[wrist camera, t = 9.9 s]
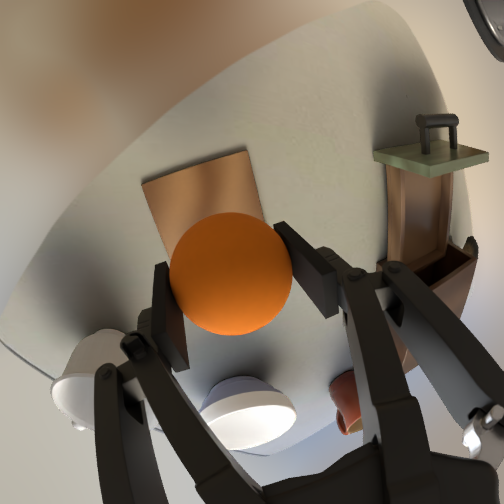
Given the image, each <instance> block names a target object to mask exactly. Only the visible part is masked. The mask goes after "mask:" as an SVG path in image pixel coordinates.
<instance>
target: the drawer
mask: <svg viewBox="0 0 504 504" xmlns="http://www.w3.org/2000/svg"><path fill="white" fill-rule="evenodd" d="M416 124H417V126H418V127H419V128H420V139H421V143H415V144H409V145H403V146H397V147H392V148H386V149H381V150H376V151H373V154H374V161H377V162H380V163H384V164H386V173H387V191H388V254H387V261H400V262H402V263H404V264H405V265H406V266H407V267H408V268H409V269H410V270H411V271H412V272H414V273H415V274H416V273H417V272H419V271H421V270H423V269H425V268H426V267H428V266H430V265H432V264H433V263H435V262H437V261H438V260H440V259H442V258H443V257H445V256H446V252H447V245H448V238H449V230H450V221H451V210H452V195H453V171H457V170H460V169H464V168H467V167H471V166H474V165H478V164H481V163H485V162H488V161H489V153H488V152H486V151H482V150H479V149H475V148H472V147H468V146H464V145H460V144H457V129H456V126H457V125H458V124H459V119H458V117H457V116H456V115H455V114H419V115H417V116H416ZM441 127H449V140H450V142H448V141H444V140H435V141H430V137H429V128H441Z"/></svg>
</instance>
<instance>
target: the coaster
mask: <svg viewBox="0 0 504 504" xmlns="http://www.w3.org/2000/svg"><path fill="white" fill-rule="evenodd" d="M141 186H142V189H143V192H144V194H145V197H146V200H147V203H148V205H149V208H150V211H151V213H152V216H153V218H154V221H155V223H156V226H157V229H158V231H159V234H160V236H161V239H162V241H163V243H164V246H165V248H166V251H167V253H168V255H169V258H170V260H171V258H172V254H173V252H174V249H175V247H176V245H177V243H178V241H179V240H180V238H181V237H182V236H183V234H184V233H185V232H186V231H187V230H188V229H189V228H190V227H191V226H193V225H194V224H195V223H197V222H198V221H200V220H202V219H204V218H206V217H208V216H211V215H215V214H218V213H226V212H237V213H243V214H247V215H251V216H253V217H255V218H258V219H260V220H262V221H263V222H264V218H263V213H262V209H261V205H260V201H259V196H258V192H257V188H256V184H255V180H254V176H253V171H252V167H251V163H250V159H249V155H248V151H247V150H245V151H241V152H237V153H234V154H230V155H227V156H223V157H220V158H216V159H213V160H210V161H207V162H203V163H200V164H197V165H194V166H191V167H188V168H185V169H182V170H179V171H176V172H173V173H170V174H167V175H165V176H162V177H159V178H156V179H154V180H151V181H148V182H146V183H143V184H142V185H141Z"/></svg>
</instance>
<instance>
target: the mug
mask: <svg viewBox="0 0 504 504" xmlns="http://www.w3.org/2000/svg"><path fill="white" fill-rule="evenodd" d="M329 392H330V397H331V399H332V400H333V402H334V403H335V405H336V407H337V414H336V420H337V424H338V427H339V429H340V431H341V432H342V434H344V435H348V434H351V433H354V432H357V431H360V430H362V429H363V425H362V418H361V411H360V404H359V397H358V391H357V385H356V379H355V373H354V370H352V371H347V372H345V373H343V374H341V375H340V376H338V377H337V378H336V379H335V380H334V381H333V382H332V383H331V385H330V387H329ZM343 419H344V420H343ZM344 422H345V423H344Z"/></svg>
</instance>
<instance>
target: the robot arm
mask: <svg viewBox="0 0 504 504" xmlns="http://www.w3.org/2000/svg"><path fill="white" fill-rule="evenodd" d="M475 3H476V6H477V8H478V11H479V13H480V15H481V17H482V19H483V21H484V23H485V25H486V27H487V29H488V31H489V32H490V34H491V35H492V37H493V38H494V40H495V41H496V42H497V43H498V44H499V45H500V46H504V0H475ZM273 226H274V230H275V231H276V233H277V234H278V235H279V236H280V237H281V239H282V240H283V242H284V244H285V245H286V248H287V250H288V252H289V255H290V258H291V263H292V272H293V277H294V278H295V279H296V281H297V282H298V283H299V284H300V286H301V287H302V288H303V290H304V291H305V292H306V294H307V295H308V296H309V297H310V299H311V300H312V301H313V303H314V304H315V305H316V307H317V308H318V309H319V311H320V312H321V313H322V315H323V316H324V317H325V319H327V318H329V317H331V316H334V315H336V314H338V313H339V306H340V307H341V308H342V309H343V327H344V326H345V328H346V332H347V337H348V342H349V347H350V352H351V357H352V362H353V368H354V373H355V379H356V385H357V391H358V397H359V404H360V411H361V418H362V425H363V446H361V447H359V448H357V449H355V450H354V451H351V452H350V453H347V454H345V455H344V456H343V457H342V458H340V459H339V460H338V461H336V462H335V463H334V464H333V465H331V466H330V467H329V468H327V469H326V470H324V471H323V472H321V473H318V474H313V475H307V476H300V477H293V478H288V479H285V480H282V481H279V482H275V483H272V484H269V485H266V486H262V487H260V485H259V484H258V483H256V482H255V481H254V480H253V479H252V478H251V477H250V476H249V475H248V473H246V472H245V470H244V469H243V468H242V467H241V466H240V464H238V462H237V461H236V460H235V459H234V457H233V456H232V455H231V454H230V453H229V451H228V450H227V449H226V448H225V447H224V445H223V444H222V443H221V442H220V440H219V439H218V438H217V437H216V435H215V434H214V433H213V431H212V430H211V429H210V427H209V426H208V425H207V423H206V422H205V421H204V419H203V418H202V417H201V415H200V414H199V412H198V411H197V410H196V408H195V407H194V405H193V404H192V403H191V401H190V400H189V398H188V397H187V395H186V394H185V392H184V391H183V389H182V388H181V386H180V385H179V383H178V382H177V380H176V378H175V377H174V376H173V374H172V369H171V367H172V368H173V370H174V371H175V372H180V371H183V370H187V369H190V367H189V360H188V352H187V345H186V336H185V328H184V319H183V312H182V310H181V309H180V308H179V306H178V304H177V303H176V300H175V298H174V295H173V293H172V290H171V285H170V277H169V270H170V269H169V267H168V265H167V262H166V261H165V262H162V263H159V264H156V265H155V271H154V283H153V296H152V307H151V308H147V309H144V310H142V311H141V313H140V315H139V317H138V325H137V331H132V332H130V333H128V334H127V335H125V336H124V337H123V338H122V340H121V342H120V349H121V350H122V351H123V352H124V354H125V355H126V356H127V358H128V359H129V360H128V361H126V362H125V363H123V364H121V365H119V366H117V367H116V366H115V365H114V364H113V363H105V364H103V365H101V366H100V367H99V368H98V369H97V371H96V372H95V376H94V430H95V446H96V456H97V467H98V474H99V482H100V488H101V494H102V500H103V504H169V503H168V500H167V497H166V494H165V490H164V487H163V483H162V480H161V477H160V473H159V469H158V465H157V461H156V457H155V454H154V449H153V445H152V440H151V436H150V431H149V426H148V420H147V415H146V409H145V403H144V399H145V398H146V399H147V401H148V403H149V405H150V407H151V409H152V411H153V413H154V415H155V417H156V419H157V420H158V422H159V424H160V426H161V428H162V430H163V431H164V433H165V435H166V437H167V439H168V440H169V442H170V444H171V445H172V447H173V448H174V450H175V452H176V454H177V455H178V457H179V458H180V460H181V462H182V463H183V465H184V466H185V468H186V469H187V471H188V472H189V474H190V475H191V477H192V478H193V480H194V481H195V488H196V491H197V492H198V494H199V495H200V497H201V498H202V499H203V501H204V502H205V504H500V501H499V490H498V489H499V480H498V475H497V472H496V470H497V468H498V467H499V465H500V463H501V462H502V460H503V458H504V371H502V369H501V368H500V367H499V365H498V364H497V363H496V362H495V361H494V359H493V358H492V357H491V355H490V354H489V353H488V352H487V350H486V349H485V348H484V347H483V346H482V344H481V343H480V342H479V341H478V340H477V338H476V337H475V336H474V335H473V334H472V333H471V332H470V330H469V329H468V328H467V327H466V326H465V325H464V324H463V323H462V321H461V320H460V319H459V318H458V317H457V316H456V315H455V314H454V313H453V312H452V311H451V310H450V308H449V307H448V306H447V305H446V304H445V303H444V302H443V301H442V300H441V299H440V298H439V297H438V296H437V295H436V294H435V293H434V292H433V291H432V290H431V289H430V288H429V287H428V286H427V285H426V284H425V283H424V282H423V281H422V280H421V279H420V278H419V277H418V276H417V275H416V274H415V273H414V272H412V271H411V270H410V269H409V268H408V267H407V266H406V265H405V264H404V263H402V262H400V261H387V262H386V263H384V264H383V265H382V271H379V272H374V273H367V272H366V271H365V270H364V269H361V268H352V267H351V266H350V265H349V264H348V263H347V262H346V261H344V260H343V259H342V258H340V256H339V255H337V254H336V253H335V252H334V251H333V250H332V249H330V248H327V247H324V246H323V247H320V248H318V249H314V248H313V247H312V246H311V245H310V244H309V243H308V242H306V241H305V240H304V239H303V238H302V237H301V236H300V235H299V234H298V233H297V232H296V231H294V230H293V229H292V228H291V227H290V226H289V225H288V224H287V223H286V222H285V221H282V222H279V223H276V224H273ZM338 305H339V306H338ZM386 319H387V320H386ZM387 321H388V322H389V323H390V325H391V326H392V327H393V329H394V330H395V332H396V333H397V334H398V336H399V337H400V338H401V340H402V341H403V343H404V344H405V346H406V347H407V348H408V350H409V351H410V353H411V354H412V356H413V357H414V359H415V360H416V361H417V363H418V364H419V366H420V367H421V369H422V370H423V372H424V373H425V375H426V376H427V378H428V379H429V381H430V382H431V384H432V385H433V387H434V388H435V390H436V392H437V393H438V395H439V397H440V398H441V400H442V401H443V403H444V405H445V406H446V408H447V410H448V411H449V413H450V414H451V415H452V417H453V419H454V420H455V421H456V422H457V423H458V424H459V426H461V428H462V429H464V430H463V438H462V443H463V444H464V445H465V446H467V447H468V448H469V452H470V454H469V458H463V457H457V456H452V455H447V454H442V453H437V452H432V451H430V448H429V443H428V438H427V434H426V430H425V425H424V421H423V417H422V413H421V409H420V405H419V402H418V400H417V398H416V397H414V396H411V394H410V391H409V388H408V384H407V381H406V378H405V374H404V371H403V368H402V364H401V361H400V358H399V355H398V352H397V349H396V346H395V343H394V340H393V337H392V334H391V331H390V329H389V326H388V323H387Z"/></svg>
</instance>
